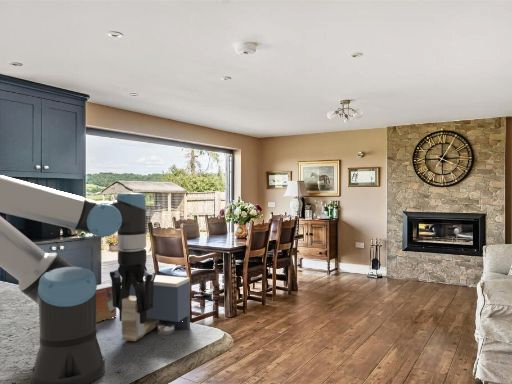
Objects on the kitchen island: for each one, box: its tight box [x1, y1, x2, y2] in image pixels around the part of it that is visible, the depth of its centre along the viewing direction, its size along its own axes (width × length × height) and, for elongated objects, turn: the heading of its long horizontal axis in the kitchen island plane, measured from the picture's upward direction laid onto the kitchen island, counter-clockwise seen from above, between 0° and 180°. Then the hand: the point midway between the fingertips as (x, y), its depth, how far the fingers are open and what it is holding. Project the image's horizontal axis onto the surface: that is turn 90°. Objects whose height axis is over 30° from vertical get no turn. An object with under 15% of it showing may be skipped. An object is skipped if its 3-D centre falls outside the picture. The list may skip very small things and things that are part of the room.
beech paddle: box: [121, 296, 160, 342], centre depth 117 cm, size 13×4×11 cm, turn 161°
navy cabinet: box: [129, 274, 191, 330], centre depth 122 cm, size 8×17×15 cm, turn 70°
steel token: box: [156, 321, 176, 336], centre depth 120 cm, size 5×5×2 cm
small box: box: [96, 282, 117, 324], centre depth 132 cm, size 8×6×10 cm
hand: (133, 333), depth 113 cm, fingers closed on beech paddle, 4 cm apart
